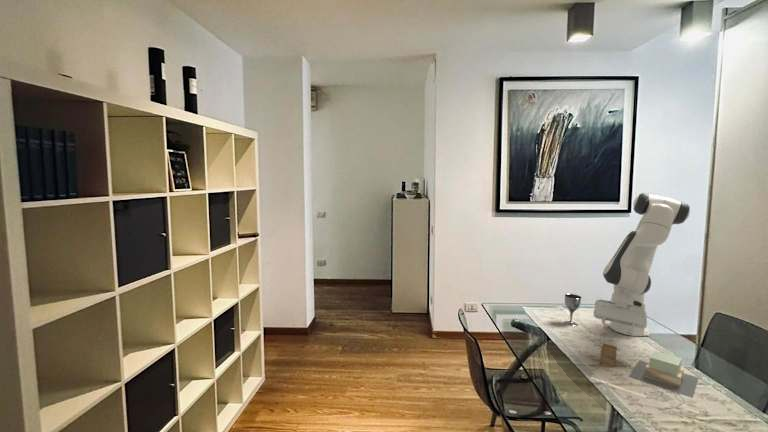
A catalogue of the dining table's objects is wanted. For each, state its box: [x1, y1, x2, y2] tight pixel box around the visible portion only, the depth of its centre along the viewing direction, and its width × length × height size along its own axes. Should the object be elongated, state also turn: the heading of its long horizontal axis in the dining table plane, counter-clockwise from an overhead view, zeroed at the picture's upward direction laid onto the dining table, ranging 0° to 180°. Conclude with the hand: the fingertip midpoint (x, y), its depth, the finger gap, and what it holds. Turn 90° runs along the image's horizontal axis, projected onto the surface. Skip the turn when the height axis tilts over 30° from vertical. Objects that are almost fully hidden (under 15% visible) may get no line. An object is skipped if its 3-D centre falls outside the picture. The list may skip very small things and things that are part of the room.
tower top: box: [649, 350, 683, 376], centre depth 154 cm, size 9×9×4 cm
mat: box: [628, 359, 700, 398], centre depth 155 cm, size 20×20×1 cm
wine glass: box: [563, 293, 582, 327], centre depth 210 cm, size 8×8×15 cm
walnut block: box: [599, 342, 618, 368], centre depth 165 cm, size 5×5×8 cm
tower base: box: [644, 360, 685, 388], centre depth 155 cm, size 11×11×4 cm
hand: (617, 331), depth 171 cm, fingers open, 8 cm apart
